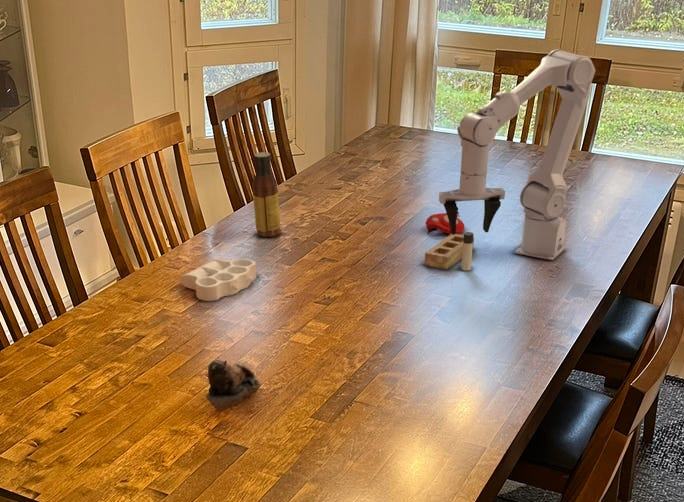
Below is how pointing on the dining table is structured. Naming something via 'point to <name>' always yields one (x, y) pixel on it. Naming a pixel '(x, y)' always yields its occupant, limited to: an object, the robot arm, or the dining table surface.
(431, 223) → the red curved piece
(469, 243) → the marker
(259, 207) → the sauce bottle
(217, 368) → the bison figurine
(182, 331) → the dining table surface
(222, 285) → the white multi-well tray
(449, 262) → the pen block
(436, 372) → the dining table surface
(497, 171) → the dining table surface
